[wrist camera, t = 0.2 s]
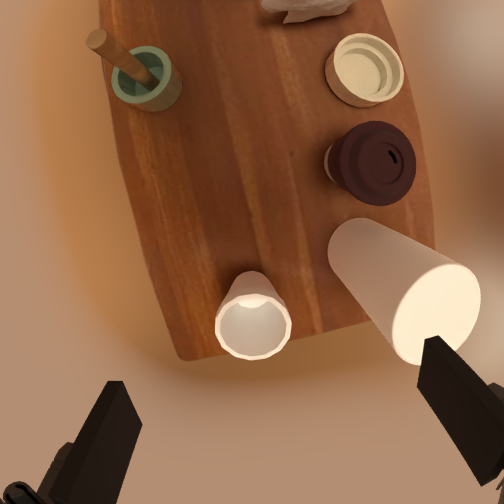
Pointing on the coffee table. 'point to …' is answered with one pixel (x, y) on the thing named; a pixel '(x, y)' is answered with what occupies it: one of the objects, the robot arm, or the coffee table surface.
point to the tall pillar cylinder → (404, 286)
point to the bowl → (364, 70)
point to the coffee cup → (372, 163)
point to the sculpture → (306, 8)
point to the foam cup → (252, 318)
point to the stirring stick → (121, 58)
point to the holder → (139, 94)
